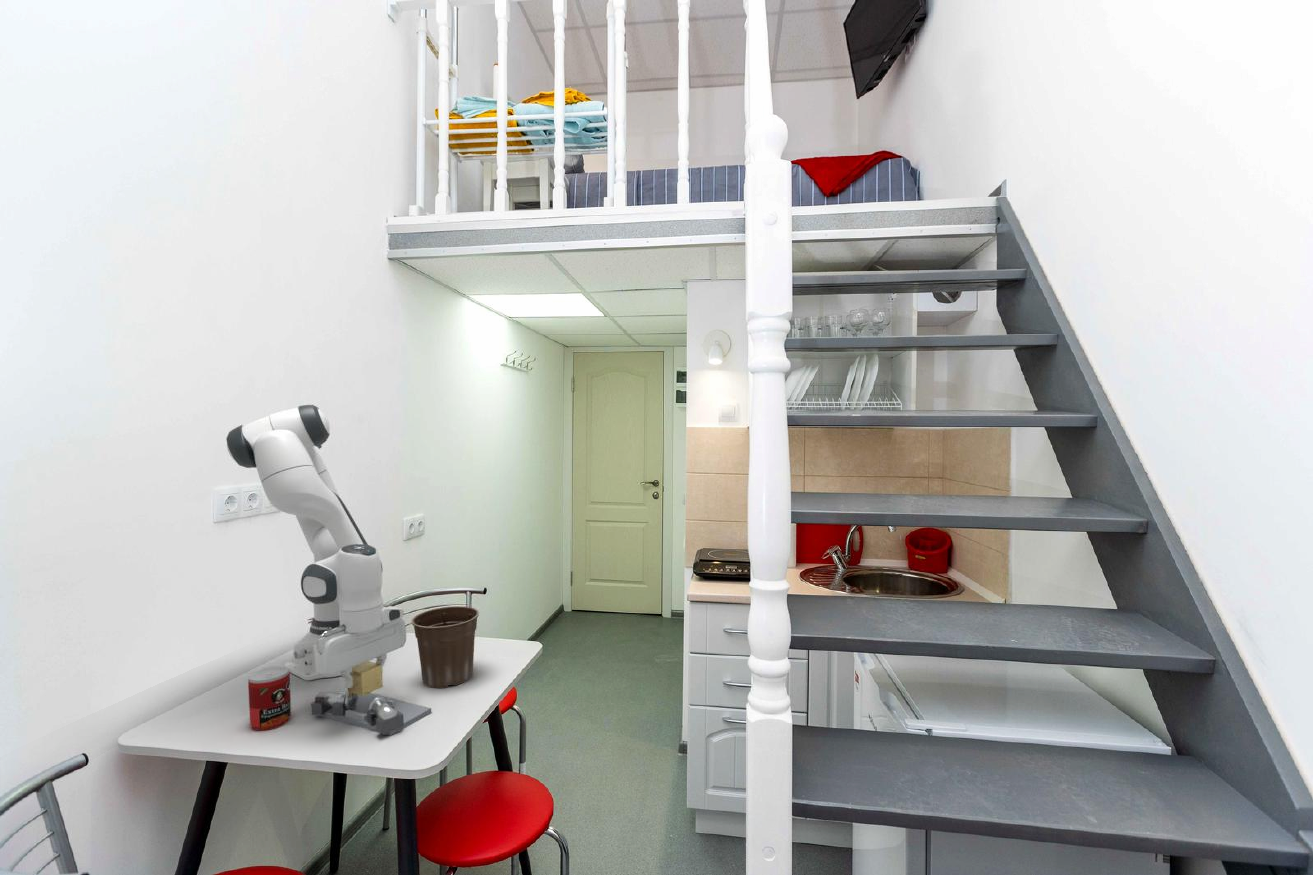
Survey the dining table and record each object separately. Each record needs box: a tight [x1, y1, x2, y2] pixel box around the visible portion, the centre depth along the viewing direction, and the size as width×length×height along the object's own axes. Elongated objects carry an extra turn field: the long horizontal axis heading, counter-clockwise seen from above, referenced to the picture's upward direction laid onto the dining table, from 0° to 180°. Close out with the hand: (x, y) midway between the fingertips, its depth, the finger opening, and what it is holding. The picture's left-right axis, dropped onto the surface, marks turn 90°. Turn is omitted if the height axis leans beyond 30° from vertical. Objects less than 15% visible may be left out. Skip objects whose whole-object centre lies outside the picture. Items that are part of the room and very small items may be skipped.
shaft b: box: [367, 695, 404, 735], centre depth 130 cm, size 8×5×4 cm, turn 44°
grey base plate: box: [319, 692, 432, 736], centre depth 136 cm, size 23×11×2 cm, turn 64°
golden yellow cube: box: [347, 660, 384, 696], centre depth 135 cm, size 5×5×5 cm
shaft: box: [310, 691, 358, 716], centre depth 136 cm, size 8×5×4 cm, turn 84°
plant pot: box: [411, 605, 480, 689], centre depth 155 cm, size 16×16×16 cm
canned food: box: [247, 665, 292, 732], centre depth 133 cm, size 8×8×11 cm
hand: (364, 680), depth 135 cm, fingers closed on golden yellow cube, 5 cm apart
